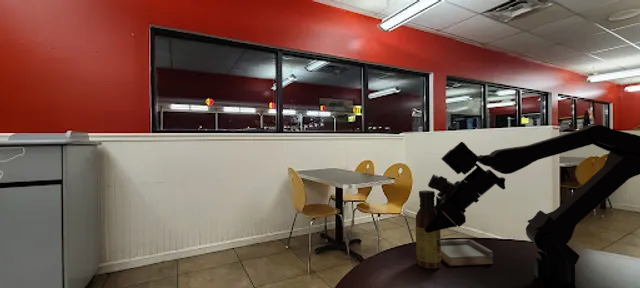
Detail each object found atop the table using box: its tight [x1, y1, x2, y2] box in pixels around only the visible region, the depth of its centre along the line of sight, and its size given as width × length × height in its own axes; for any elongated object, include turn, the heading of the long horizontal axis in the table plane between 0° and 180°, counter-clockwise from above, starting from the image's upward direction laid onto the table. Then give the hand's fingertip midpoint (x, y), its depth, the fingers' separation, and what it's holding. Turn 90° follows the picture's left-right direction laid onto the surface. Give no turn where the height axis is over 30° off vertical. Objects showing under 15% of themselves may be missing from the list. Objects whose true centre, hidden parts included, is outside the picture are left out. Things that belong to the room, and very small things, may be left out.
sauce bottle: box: [415, 189, 442, 270], centre depth 75 cm, size 7×6×20 cm
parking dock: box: [441, 238, 494, 267], centre depth 80 cm, size 12×10×3 cm
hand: (425, 226), depth 75 cm, fingers open, 9 cm apart
